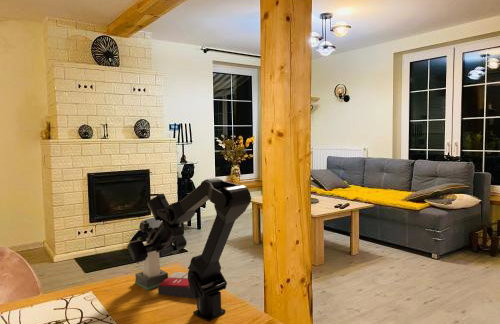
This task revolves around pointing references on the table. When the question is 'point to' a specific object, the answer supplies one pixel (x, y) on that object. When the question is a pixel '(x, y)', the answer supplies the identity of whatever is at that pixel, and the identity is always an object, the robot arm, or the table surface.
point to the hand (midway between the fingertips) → (149, 258)
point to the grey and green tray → (150, 280)
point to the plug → (151, 263)
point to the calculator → (176, 286)
